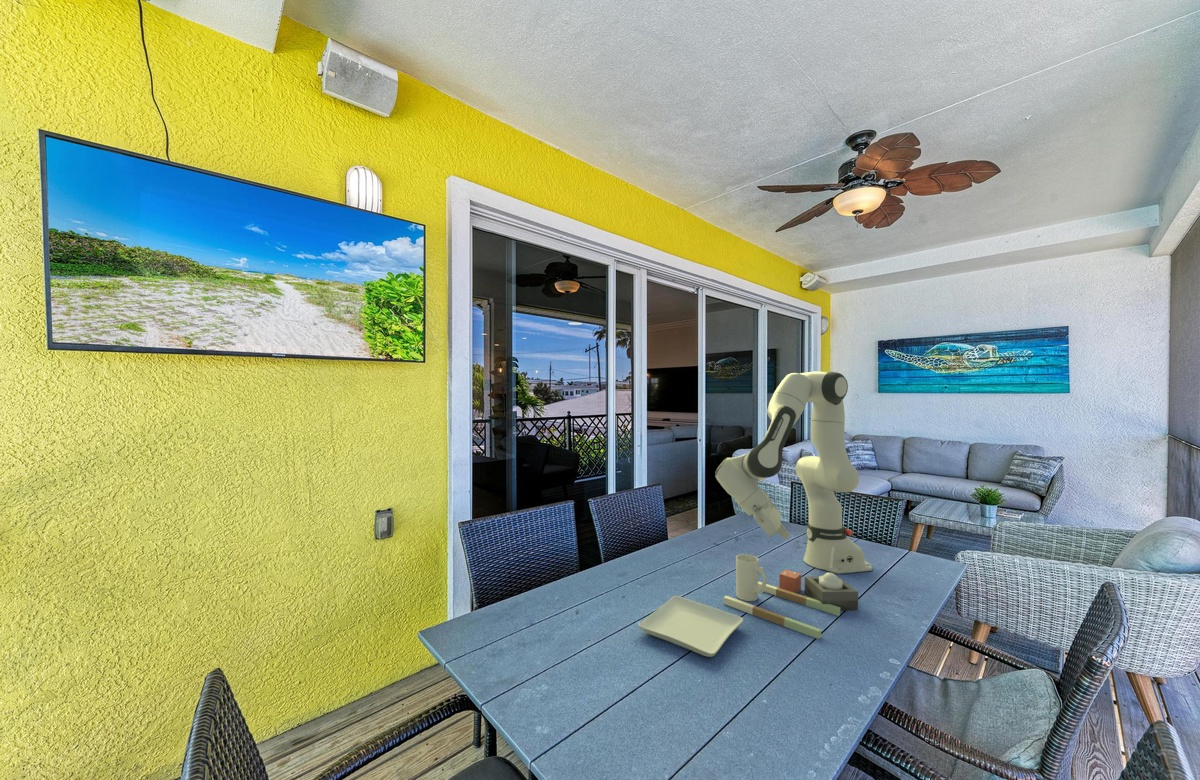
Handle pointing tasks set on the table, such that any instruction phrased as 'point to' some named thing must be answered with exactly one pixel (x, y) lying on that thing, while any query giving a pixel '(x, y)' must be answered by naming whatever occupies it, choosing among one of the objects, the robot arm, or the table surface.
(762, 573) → the mug
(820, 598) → the dome housing
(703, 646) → the salad plate
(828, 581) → the pop dome
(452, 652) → the table surface
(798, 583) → the die
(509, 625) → the table surface
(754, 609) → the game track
